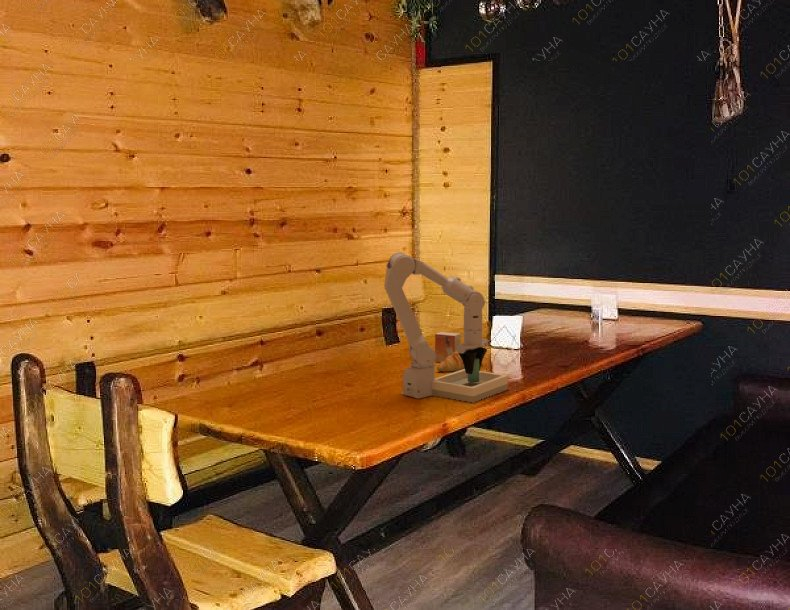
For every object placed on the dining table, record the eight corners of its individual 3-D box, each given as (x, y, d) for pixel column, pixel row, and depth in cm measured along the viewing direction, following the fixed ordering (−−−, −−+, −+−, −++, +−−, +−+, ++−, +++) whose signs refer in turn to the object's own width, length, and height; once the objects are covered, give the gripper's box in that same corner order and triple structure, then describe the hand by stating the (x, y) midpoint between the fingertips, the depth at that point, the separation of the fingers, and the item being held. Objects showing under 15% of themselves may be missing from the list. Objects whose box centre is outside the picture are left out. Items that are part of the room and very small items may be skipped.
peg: (465, 381, 256) (465, 359, 254) (470, 379, 259) (470, 357, 258) (476, 382, 254) (476, 360, 253) (481, 380, 257) (481, 358, 256)
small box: (434, 362, 298) (434, 333, 296) (440, 359, 303) (440, 331, 301) (454, 364, 294) (454, 335, 292) (461, 361, 299) (461, 332, 297)
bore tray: (473, 403, 242) (473, 388, 242) (429, 394, 252) (429, 380, 252) (507, 389, 258) (508, 375, 257) (465, 382, 268) (465, 368, 267)
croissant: (443, 384, 280) (450, 366, 276) (425, 366, 286) (432, 348, 282) (486, 373, 293) (494, 355, 289) (468, 356, 299) (475, 339, 295)
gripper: (471, 334, 246) (470, 378, 248) (496, 327, 257) (496, 369, 259) (451, 331, 250) (451, 375, 252) (477, 324, 261) (477, 366, 263)
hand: (472, 372), depth 256 cm, fingers closed on peg, 4 cm apart
